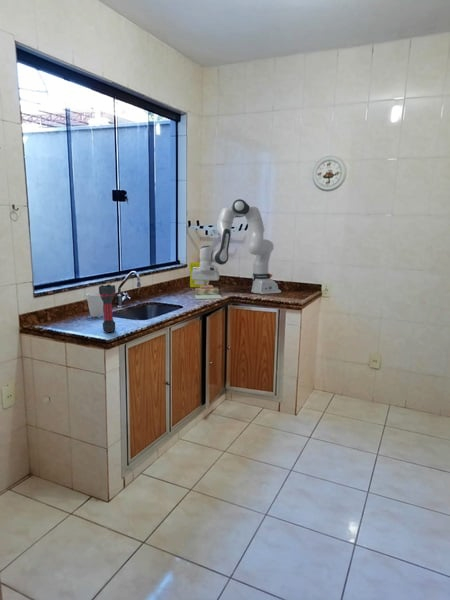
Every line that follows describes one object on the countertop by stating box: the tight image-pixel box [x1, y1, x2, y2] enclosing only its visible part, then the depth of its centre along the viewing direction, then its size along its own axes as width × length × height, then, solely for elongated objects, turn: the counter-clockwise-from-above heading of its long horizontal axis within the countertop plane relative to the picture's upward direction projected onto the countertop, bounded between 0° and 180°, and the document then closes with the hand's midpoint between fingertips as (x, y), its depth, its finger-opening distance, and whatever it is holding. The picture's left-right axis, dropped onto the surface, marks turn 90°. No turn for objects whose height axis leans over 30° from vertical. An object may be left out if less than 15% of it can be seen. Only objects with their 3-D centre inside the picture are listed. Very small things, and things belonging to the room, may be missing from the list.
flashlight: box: [98, 284, 116, 333], centre depth 198 cm, size 8×8×23 cm
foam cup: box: [85, 292, 104, 317], centre depth 231 cm, size 10×9×13 cm
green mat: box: [194, 294, 223, 300], centre depth 290 cm, size 18×13×1 cm
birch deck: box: [194, 287, 220, 295], centre depth 301 cm, size 16×10×4 cm, turn 98°
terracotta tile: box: [199, 284, 214, 290], centre depth 302 cm, size 9×6×2 cm, turn 98°
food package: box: [189, 262, 210, 288], centre depth 332 cm, size 15×1×20 cm, turn 84°
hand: (205, 286), depth 308 cm, fingers closed
